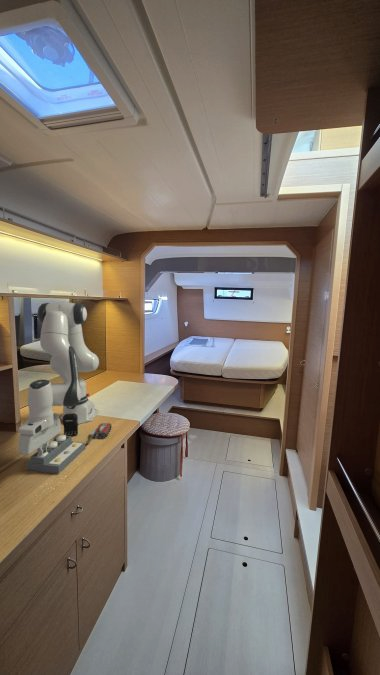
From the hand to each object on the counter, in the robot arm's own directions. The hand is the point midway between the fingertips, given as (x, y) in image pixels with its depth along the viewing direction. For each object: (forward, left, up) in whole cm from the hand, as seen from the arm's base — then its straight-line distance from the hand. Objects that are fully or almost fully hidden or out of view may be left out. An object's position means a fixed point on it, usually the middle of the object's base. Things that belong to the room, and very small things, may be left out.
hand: (42, 453), depth 110 cm
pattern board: (-6, +3, -5) cm, 8 cm away
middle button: (-6, 0, -1) cm, 6 cm away
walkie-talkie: (-29, +10, -6) cm, 31 cm away
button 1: (0, 0, -2) cm, 2 cm away
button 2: (-12, 0, -1) cm, 12 cm away
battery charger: (-26, -4, -6) cm, 27 cm away
